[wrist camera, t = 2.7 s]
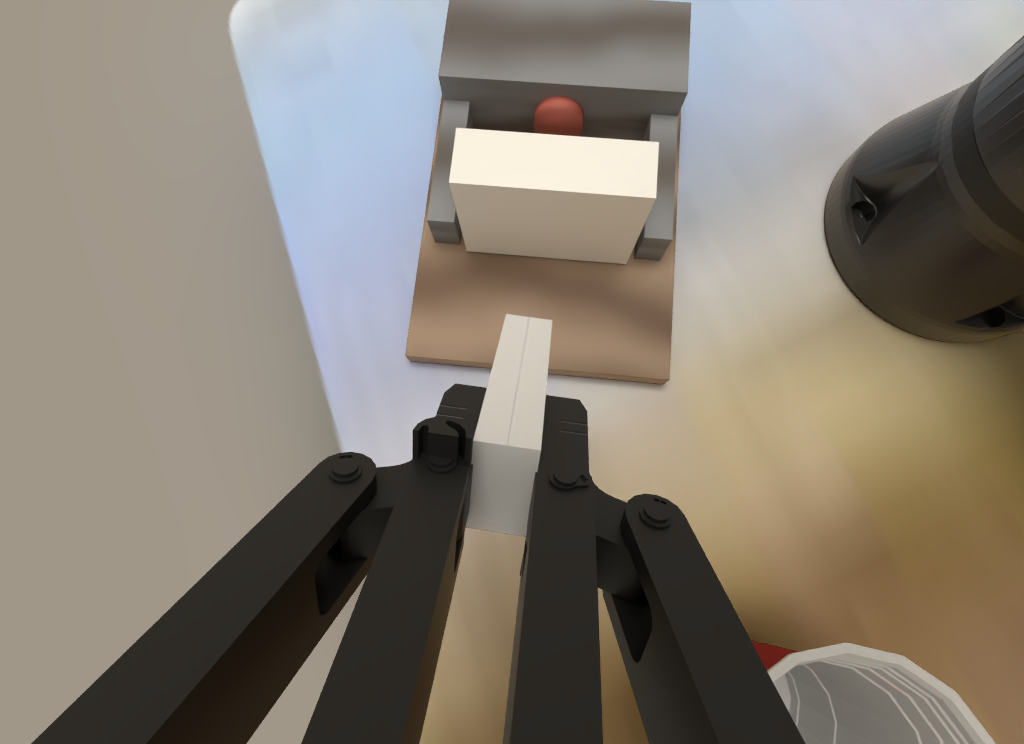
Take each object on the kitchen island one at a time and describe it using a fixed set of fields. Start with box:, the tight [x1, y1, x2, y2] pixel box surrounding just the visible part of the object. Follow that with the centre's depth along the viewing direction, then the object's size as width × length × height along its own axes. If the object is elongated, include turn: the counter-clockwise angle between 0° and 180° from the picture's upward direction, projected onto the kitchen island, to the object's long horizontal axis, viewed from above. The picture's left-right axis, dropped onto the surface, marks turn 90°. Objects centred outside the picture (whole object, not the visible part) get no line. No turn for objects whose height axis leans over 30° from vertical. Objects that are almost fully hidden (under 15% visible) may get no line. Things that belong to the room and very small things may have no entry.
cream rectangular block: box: [449, 128, 659, 264], centre depth 30 cm, size 3×10×8 cm, turn 84°
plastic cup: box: [751, 641, 996, 744], centre depth 25 cm, size 11×11×12 cm
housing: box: [405, 0, 691, 384], centre depth 33 cm, size 22×16×6 cm
